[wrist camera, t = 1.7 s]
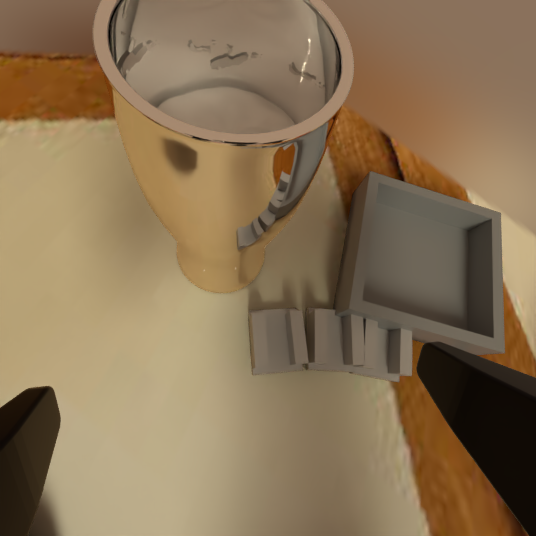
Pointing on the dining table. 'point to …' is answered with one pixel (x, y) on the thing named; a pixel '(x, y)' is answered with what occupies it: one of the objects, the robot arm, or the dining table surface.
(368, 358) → the clip
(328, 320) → the clip
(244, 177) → the beer glass
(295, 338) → the clip
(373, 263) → the holder
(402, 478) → the dining table surface
